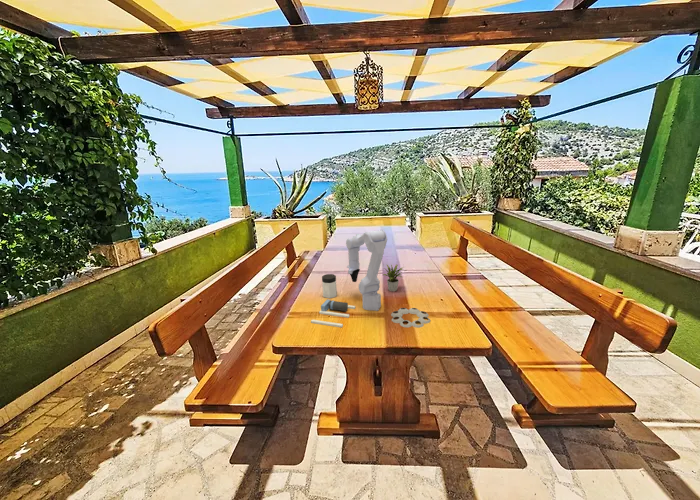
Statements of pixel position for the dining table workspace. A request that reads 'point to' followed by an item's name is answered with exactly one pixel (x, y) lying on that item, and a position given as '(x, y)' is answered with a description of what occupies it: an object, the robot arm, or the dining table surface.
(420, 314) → the paint palette
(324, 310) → the cream cylinder cradle
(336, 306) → the banded tin can
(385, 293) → the dining table surface
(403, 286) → the dining table surface
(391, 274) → the house plant
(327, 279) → the jar
